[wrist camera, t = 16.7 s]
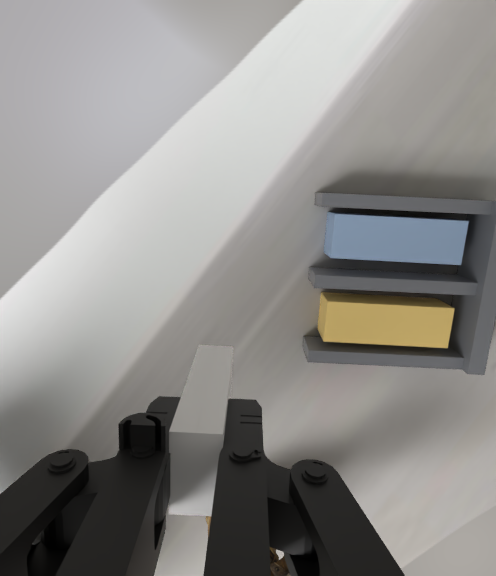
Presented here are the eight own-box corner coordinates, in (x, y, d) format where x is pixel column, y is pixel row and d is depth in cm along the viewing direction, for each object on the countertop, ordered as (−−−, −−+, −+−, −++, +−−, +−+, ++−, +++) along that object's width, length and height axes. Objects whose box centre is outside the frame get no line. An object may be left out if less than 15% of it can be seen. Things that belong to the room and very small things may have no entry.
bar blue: (323, 251, 41) (330, 258, 37) (327, 211, 40) (335, 213, 37) (441, 258, 41) (461, 265, 38) (447, 218, 40) (468, 221, 37)
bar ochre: (317, 328, 43) (323, 341, 39) (320, 291, 42) (327, 301, 38) (430, 334, 43) (447, 348, 39) (435, 297, 42) (454, 308, 38)
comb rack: (302, 346, 43) (309, 366, 39) (315, 192, 40) (324, 192, 35) (458, 354, 43) (484, 374, 39) (485, 200, 40) (518, 202, 35)
